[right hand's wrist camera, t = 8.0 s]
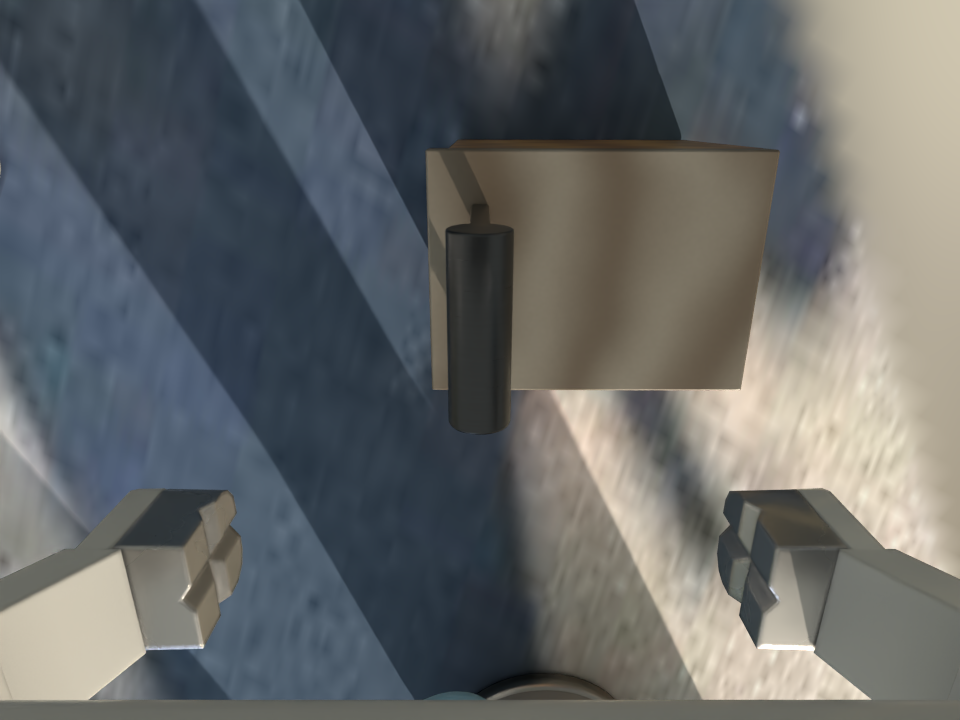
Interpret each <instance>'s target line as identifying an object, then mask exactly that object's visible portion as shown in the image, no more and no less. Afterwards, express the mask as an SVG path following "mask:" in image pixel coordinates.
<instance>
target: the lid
mask: <svg viewBox="0 0 960 720" xmlns="http://www.w3.org/2000/svg"><path fill="white" fill-rule="evenodd" d="M425 153H426V189H427V224H428V260H429V296H430V331H431V367H432V389H434V390H448V411H449V423H450V425H451V426H452V427H453V428H454V429H456V430H458V431H460V432H463V433H468V434H476V435H483V434H491V433H496V432H499V431H501V430H503V429H505V428H506V427H507V426H508V425H509V423H510V410H511V390H740V389H741V384H742V378H743V372H744V366H745V360H746V354H747V348H748V342H749V335H750V329H751V323H752V317H753V311H754V305H755V299H756V293H757V287H758V281H759V275H760V269H761V263H762V256H763V250H764V244H765V238H766V232H767V226H768V220H769V214H770V208H771V202H772V196H773V190H774V184H775V178H776V171H777V165H778V159H779V153H780V151H779V150H774V149H708V148H429V149H427V150H426V152H425Z"/></svg>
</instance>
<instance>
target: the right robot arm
mask: <svg viewBox="0 0 960 720" xmlns="http://www.w3.org/2000/svg"><path fill="white" fill-rule="evenodd" d="M0 173H1V165H0ZM236 514H237V511H236V506H235V502H234V497H233V495H232V494H231V493H230V492H229V491H228V490H198V489H136V490H132V491H130V492H129V493H128V494H127V495H126V496H125V497H124V498H123V499H122V500H121V501H120V502H119V503H118V505H117V506H116V507H115V508H114V509H113V510H112V511H111V512H110V513H109V514H108V515H107V516H106V517H105V518H104V519H103V520H102V521H101V522H100V523H99V524H98V525H97V527H96V528H95V529H94V530H93V531H92V532H91V533H90V534H89V535H88V536H87V537H86V538H85V539H84V540H83V541H82V542H81V543H80V544H79V545H78V546H77V547H76V549H64V550H62V551H60V552H57V553H55V554H53V555H51V556H49V557H47V558H45V559H42V560H40V561H38V562H36V563H34V564H32V565H30V566H27V567H25V568H23V569H21V570H19V571H17V572H15V573H12V574H10V575H8V576H6V577H4V578H2V579H0V720H960V579H958V578H956V577H954V576H952V575H950V574H947V573H945V572H943V571H941V570H939V569H937V568H935V567H932V566H930V565H928V564H926V563H924V562H922V561H920V560H917V559H915V558H913V557H911V556H909V555H907V554H905V553H903V552H900V551H898V550H896V549H885V548H884V547H883V546H882V545H881V544H880V543H879V542H878V541H877V540H876V539H875V538H874V537H873V536H872V535H871V534H870V533H869V532H868V531H867V530H866V529H865V527H864V526H863V525H862V524H861V523H860V522H859V521H858V520H857V519H856V518H855V517H854V516H853V515H852V514H851V513H850V512H849V511H848V510H847V509H846V508H845V507H844V505H843V504H842V503H841V502H840V501H839V500H838V499H837V498H836V497H835V496H834V495H833V494H832V493H831V492H830V491H828V490H825V489H823V488H816V489H791V490H757V491H730V492H729V494H728V496H727V498H726V500H725V506H724V511H723V514H724V515H725V517H726V518H727V520H728V522H729V523H730V526H729V527H728V528H727V529H726V530H725V531H724V532H723V533H722V534H721V535H720V536H719V543H718V551H717V557H718V568H719V573H720V576H721V580H722V583H723V585H724V587H725V589H726V591H727V593H728V595H730V596H731V597H733V598H734V599H736V600H737V601H739V602H740V603H741V608H740V614H739V616H740V618H741V620H742V622H743V623H744V625H745V627H746V629H747V631H748V633H749V635H750V637H751V638H752V640H753V642H754V644H755V646H756V648H759V649H795V650H814V653H815V654H816V655H817V656H819V657H820V658H821V659H822V660H824V661H825V662H826V663H827V664H828V665H830V666H831V667H832V668H833V669H835V670H836V671H837V672H838V673H840V674H841V675H842V676H843V677H845V678H846V679H847V680H848V681H850V682H851V683H852V684H853V685H854V686H856V687H857V688H858V689H859V690H861V691H862V692H863V693H864V694H866V695H867V696H868V697H869V698H871V699H872V700H88V699H90V698H91V697H92V696H93V695H95V694H96V693H97V692H98V691H100V690H101V689H102V688H103V687H105V686H106V685H107V684H108V683H109V682H111V681H112V680H113V679H114V678H116V677H117V676H118V675H119V674H121V673H122V672H123V671H124V670H126V669H127V668H128V667H129V666H131V665H132V664H133V663H134V662H136V661H137V660H138V659H139V658H140V657H142V656H143V655H144V654H145V653H146V650H165V649H200V648H204V646H205V644H206V642H207V640H208V639H209V637H210V635H211V633H212V631H213V629H214V627H215V625H216V623H217V622H218V620H219V618H220V616H221V614H220V608H219V603H220V602H221V601H223V600H224V599H226V598H227V597H229V596H230V595H232V593H233V591H234V589H235V587H236V585H237V583H238V580H239V576H240V571H241V567H242V550H243V549H242V542H241V536H240V535H239V534H238V533H237V532H236V531H235V530H234V529H233V528H232V527H231V526H230V523H231V522H232V520H233V518H234V517H235V515H236Z"/></svg>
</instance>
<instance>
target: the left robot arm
mask: <svg viewBox="0 0 960 720" xmlns="http://www.w3.org/2000/svg"><path fill="white" fill-rule="evenodd" d="M424 700H615V699H614V698H613V697H611V696H610V695H609V694H608V693H606V692H605V691H604V690H602V689H601V688H599V687H597V686H595V685H593V684H591V683H589V682H587V681H584V680H581V679H578V678H574V677H570V676H565V675H558V674H529V675H522V676H517V677H513V678H509V679H506V680H503V681H500V682H498V683H496V684H493V685H491V686H489V687H487V688H486V689H484V690H482V691H481V692H479V693H478V694H477V695H476V694H473V693H470V692H461V691H453V692H445V693H440V694H437V695H434V696H431V697H429V698H426V699H424Z"/></svg>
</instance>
